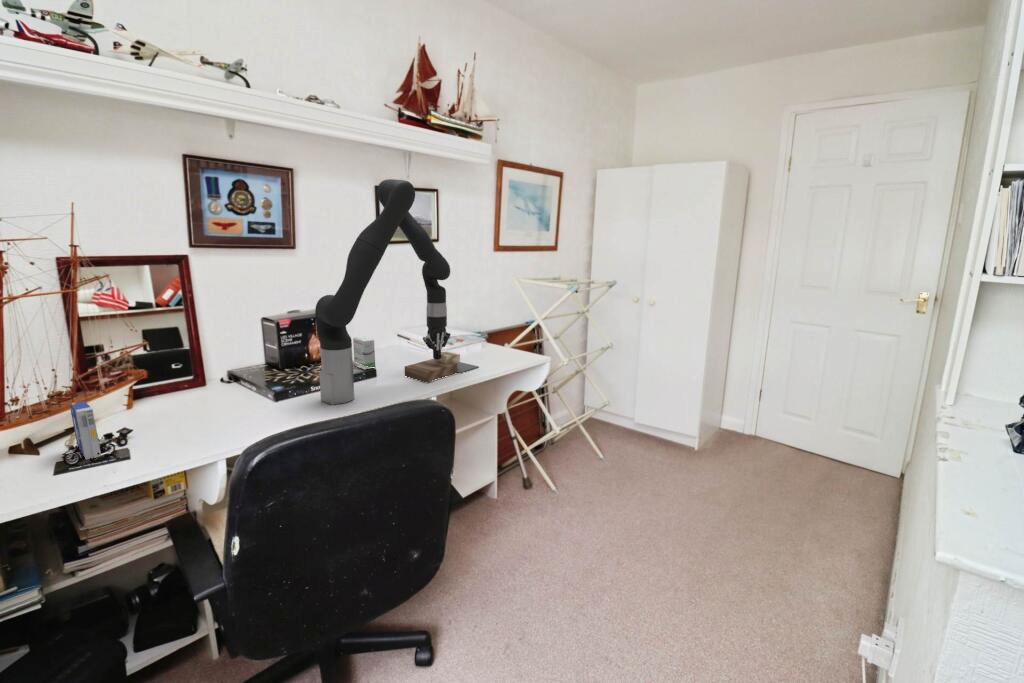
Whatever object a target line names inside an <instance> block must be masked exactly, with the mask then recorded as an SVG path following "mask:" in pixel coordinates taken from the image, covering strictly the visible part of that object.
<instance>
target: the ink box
mask: <svg viewBox="0 0 1024 683" xmlns="http://www.w3.org/2000/svg"><path fill="white" fill-rule="evenodd" d="M352 344H353V345H352V348H353V360H354V361H353V363H354V362H357V363H359V364H362V365H364V366H368V367H375V368H376V353H375V352H376V351H375V339H372V338H369V337H366V336H359V337H358V336H357V337H353V338H352Z"/></svg>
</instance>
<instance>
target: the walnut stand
mask: <svg viewBox="0 0 1024 683" xmlns="http://www.w3.org/2000/svg"><path fill="white" fill-rule="evenodd" d="M455 373H458V364H457V363H449V364H445V363H441V362H438V361H434V358H431V359H427V360H425V361H420V362H416V363H413V364H408V365H405V366H404V377H405V376H407V377H406V378H408V377H410V378H409V379H411V378H413V379H412V380H414V379H417V380H416V381H418V380H421V381H424V382H423V383H425V382H430V381H432V380H435V379H438V378H442V377H445V376H449V375H452V374H455ZM458 374H459V373H458ZM455 375H456V374H455ZM452 376H453V375H452ZM449 377H450V376H449ZM445 378H446V377H445ZM442 379H443V378H442ZM421 381H420V382H421ZM430 383H431V382H430Z"/></svg>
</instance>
